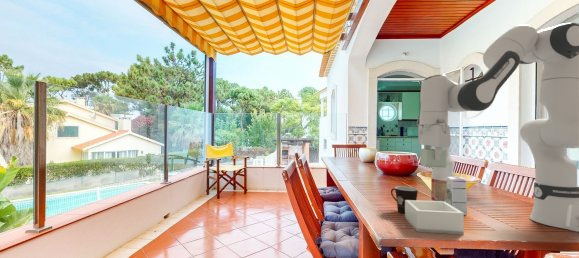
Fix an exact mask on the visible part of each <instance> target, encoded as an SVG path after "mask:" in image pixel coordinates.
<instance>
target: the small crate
mask: <svg viewBox="0 0 579 258" xmlns="http://www.w3.org/2000/svg"><path fill="white" fill-rule="evenodd" d="M419 152H420V153H419V156H420V157H419V165H420V166H422V167H425V168H433V167H440V168H446V150H443V151H442V154H441V160H434V155H435V148H431V149H424V148H420V151H419Z"/></svg>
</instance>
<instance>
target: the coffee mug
mask: <svg viewBox="0 0 579 258" xmlns="http://www.w3.org/2000/svg"><path fill="white" fill-rule="evenodd" d="M393 191H395V195H394V194H393ZM418 192H419V191H418V188H416V187H412V186H402V185H399V186H395V187H393V188H391V190H390V194H391V196H392V198H393V199H394V201H395V202H396V208H397V213H398V214H401V215H404V216H405V200H418Z"/></svg>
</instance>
